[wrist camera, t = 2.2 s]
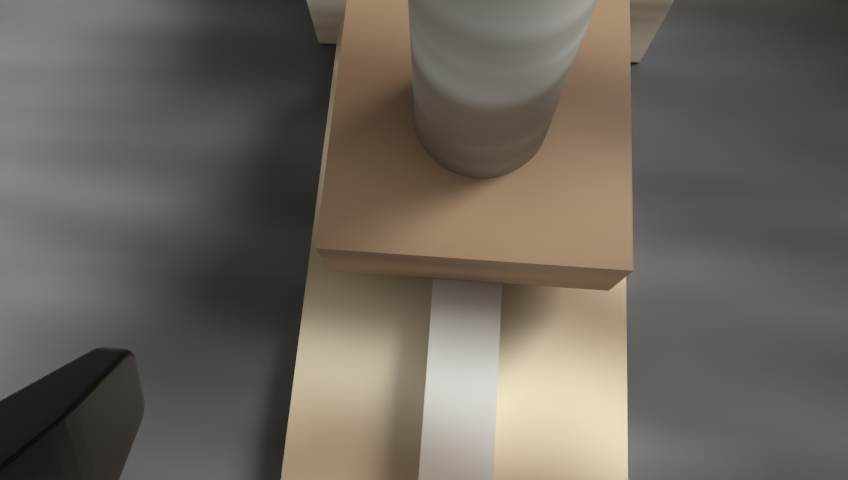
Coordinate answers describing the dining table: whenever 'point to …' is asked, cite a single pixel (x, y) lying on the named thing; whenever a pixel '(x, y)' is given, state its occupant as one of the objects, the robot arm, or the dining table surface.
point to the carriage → (482, 142)
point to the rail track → (388, 367)
